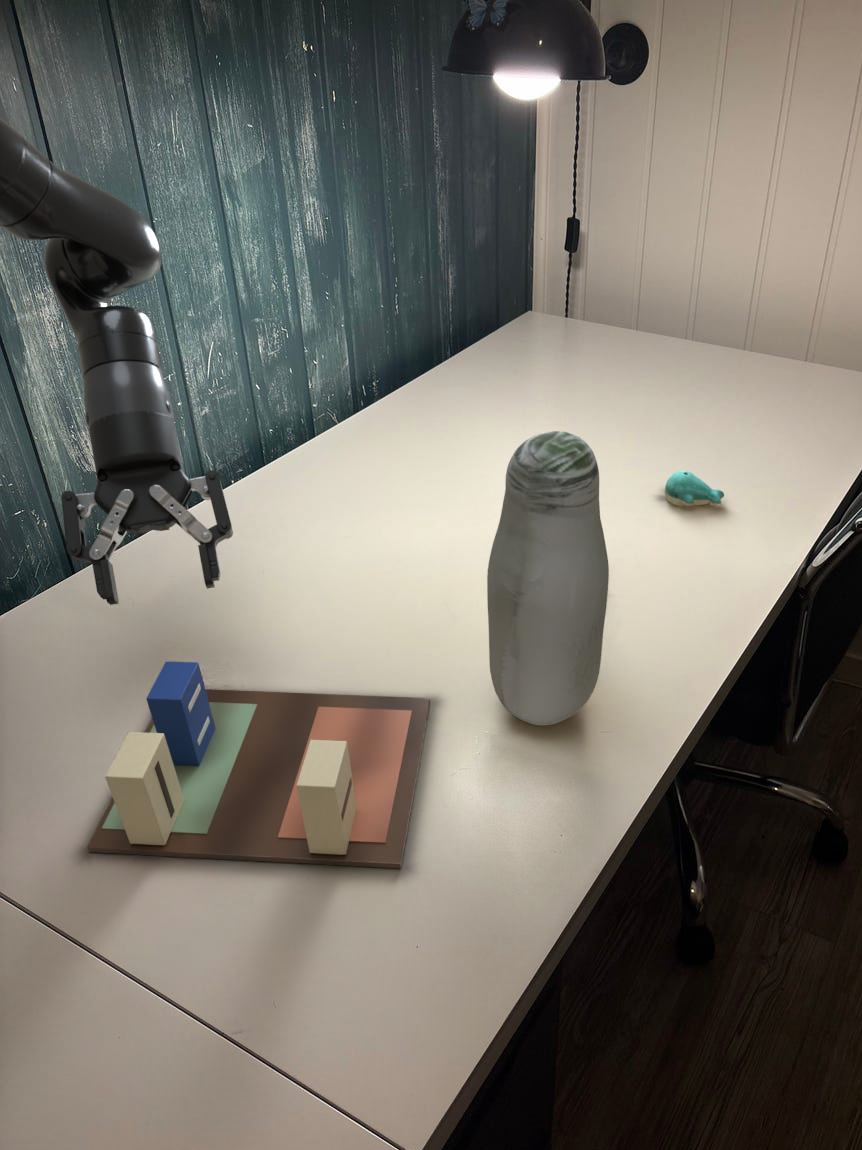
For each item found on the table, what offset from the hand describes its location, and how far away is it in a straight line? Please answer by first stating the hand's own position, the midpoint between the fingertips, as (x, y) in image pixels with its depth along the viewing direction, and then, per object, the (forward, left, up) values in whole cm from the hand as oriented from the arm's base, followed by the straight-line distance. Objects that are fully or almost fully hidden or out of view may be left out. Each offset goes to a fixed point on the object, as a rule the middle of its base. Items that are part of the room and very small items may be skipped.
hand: (161, 594), depth 85 cm
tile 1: (+3, -16, -12) cm, 20 cm away
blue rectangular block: (+3, -7, -12) cm, 14 cm away
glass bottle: (+35, +1, -13) cm, 37 cm away
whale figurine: (+53, +41, -13) cm, 68 cm away
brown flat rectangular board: (+11, -9, -12) cm, 19 cm away
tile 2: (+18, -16, -12) cm, 27 cm away
